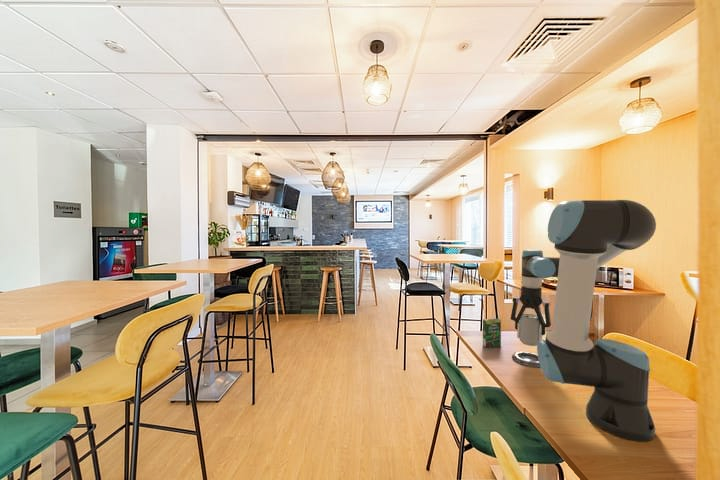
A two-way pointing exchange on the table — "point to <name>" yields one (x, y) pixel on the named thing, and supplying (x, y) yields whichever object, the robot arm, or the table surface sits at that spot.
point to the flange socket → (527, 359)
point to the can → (529, 329)
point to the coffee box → (491, 333)
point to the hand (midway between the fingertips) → (529, 339)
